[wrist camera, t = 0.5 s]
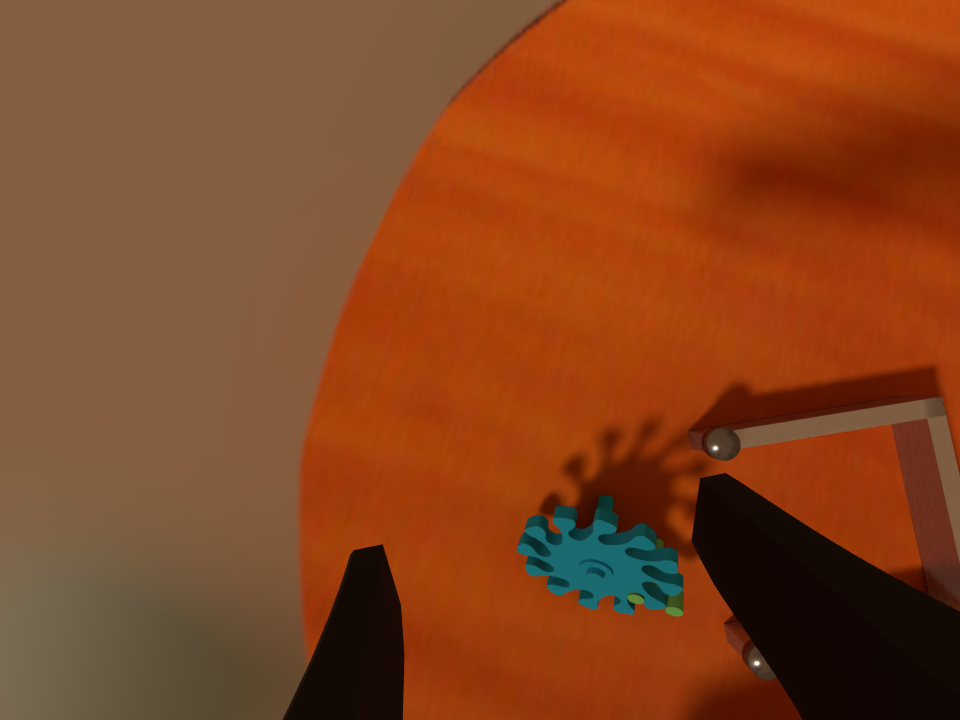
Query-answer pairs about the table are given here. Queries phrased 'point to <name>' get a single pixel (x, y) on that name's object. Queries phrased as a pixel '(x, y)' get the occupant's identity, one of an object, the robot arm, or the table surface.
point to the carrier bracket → (925, 467)
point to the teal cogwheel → (604, 561)
